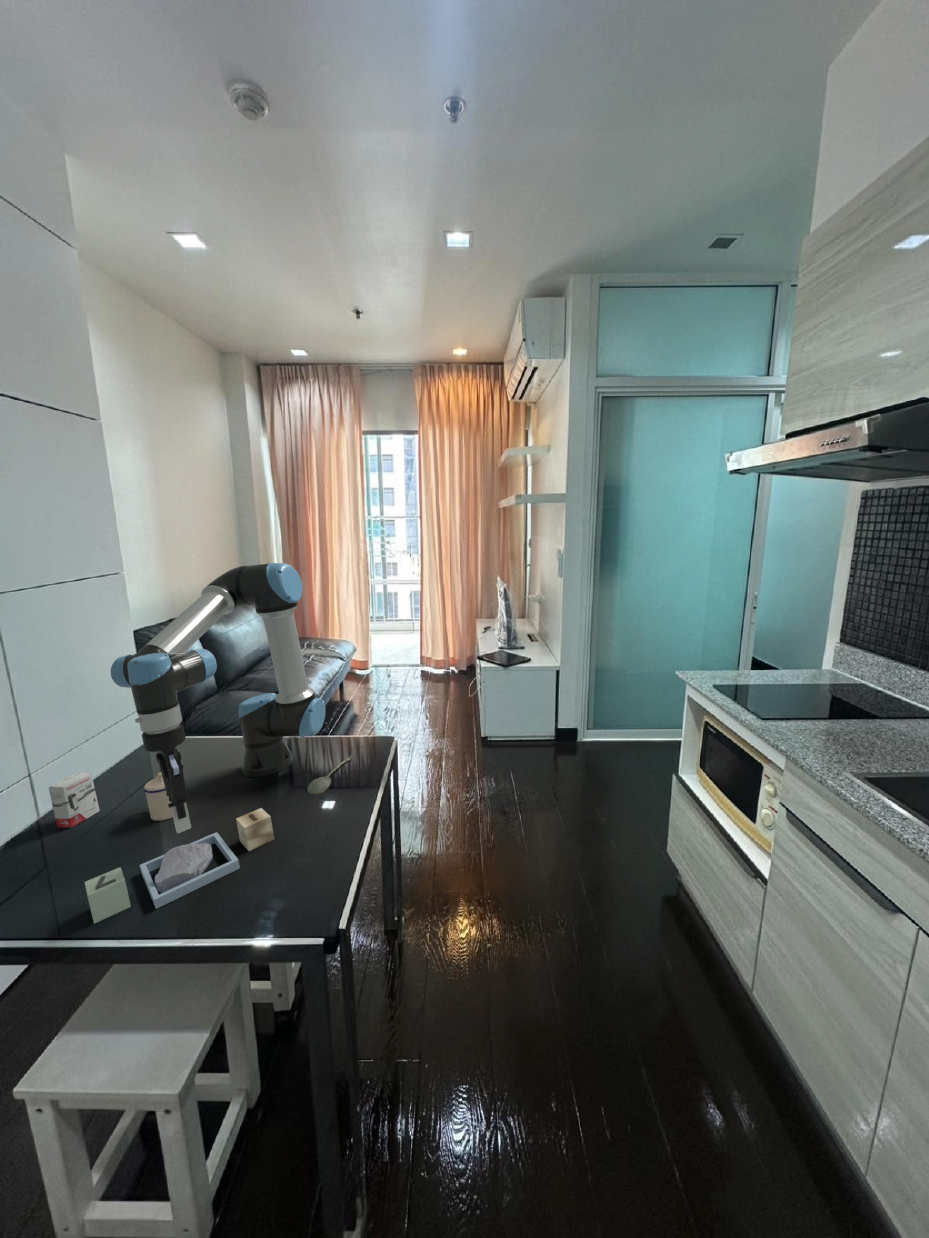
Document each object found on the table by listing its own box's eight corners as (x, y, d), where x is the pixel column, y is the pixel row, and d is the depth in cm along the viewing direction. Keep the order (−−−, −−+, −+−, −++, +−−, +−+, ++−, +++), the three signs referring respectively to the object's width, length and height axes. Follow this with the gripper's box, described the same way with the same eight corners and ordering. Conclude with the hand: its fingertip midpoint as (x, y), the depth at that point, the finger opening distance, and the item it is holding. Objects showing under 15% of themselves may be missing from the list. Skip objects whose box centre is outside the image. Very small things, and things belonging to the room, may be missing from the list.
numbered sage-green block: (126, 892, 103) (120, 865, 102) (130, 906, 98) (124, 879, 97) (90, 908, 99) (84, 881, 98) (94, 924, 94) (87, 895, 93)
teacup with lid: (195, 806, 136) (187, 767, 134) (162, 824, 128) (154, 783, 127) (169, 799, 142) (161, 761, 140) (136, 816, 134) (128, 776, 132)
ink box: (71, 828, 131) (61, 787, 129) (56, 827, 132) (46, 787, 130) (101, 810, 139) (92, 771, 137) (87, 810, 140) (78, 771, 138)
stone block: (214, 858, 115) (166, 862, 112) (215, 839, 114) (166, 843, 111) (206, 892, 104) (151, 898, 100) (207, 872, 103) (152, 877, 100)
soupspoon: (302, 797, 139) (323, 799, 137) (301, 786, 138) (321, 788, 136) (342, 759, 159) (360, 761, 157) (340, 750, 159) (359, 751, 157)
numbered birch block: (265, 830, 122) (261, 807, 121) (274, 839, 117) (270, 815, 116) (240, 841, 118) (235, 817, 117) (248, 851, 113) (244, 827, 112)
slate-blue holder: (218, 839, 119) (216, 831, 119) (240, 868, 107) (238, 859, 107) (141, 873, 109) (139, 864, 108) (155, 908, 97) (154, 899, 96)
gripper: (135, 726, 105) (157, 826, 109) (147, 741, 95) (171, 850, 99) (175, 715, 110) (194, 811, 114) (189, 728, 100) (210, 833, 104)
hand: (183, 829), depth 107 cm, fingers closed
